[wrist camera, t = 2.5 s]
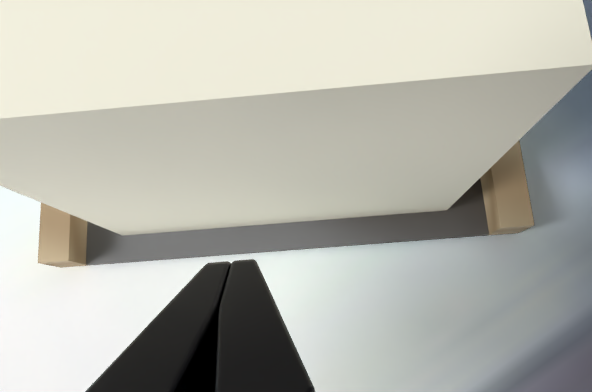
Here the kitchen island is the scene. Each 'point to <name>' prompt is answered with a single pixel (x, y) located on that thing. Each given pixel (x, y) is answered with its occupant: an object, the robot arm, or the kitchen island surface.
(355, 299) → the kitchen island surface
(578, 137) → the kitchen island surface
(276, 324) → the robot arm
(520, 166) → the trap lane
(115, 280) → the kitchen island surface
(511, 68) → the block
